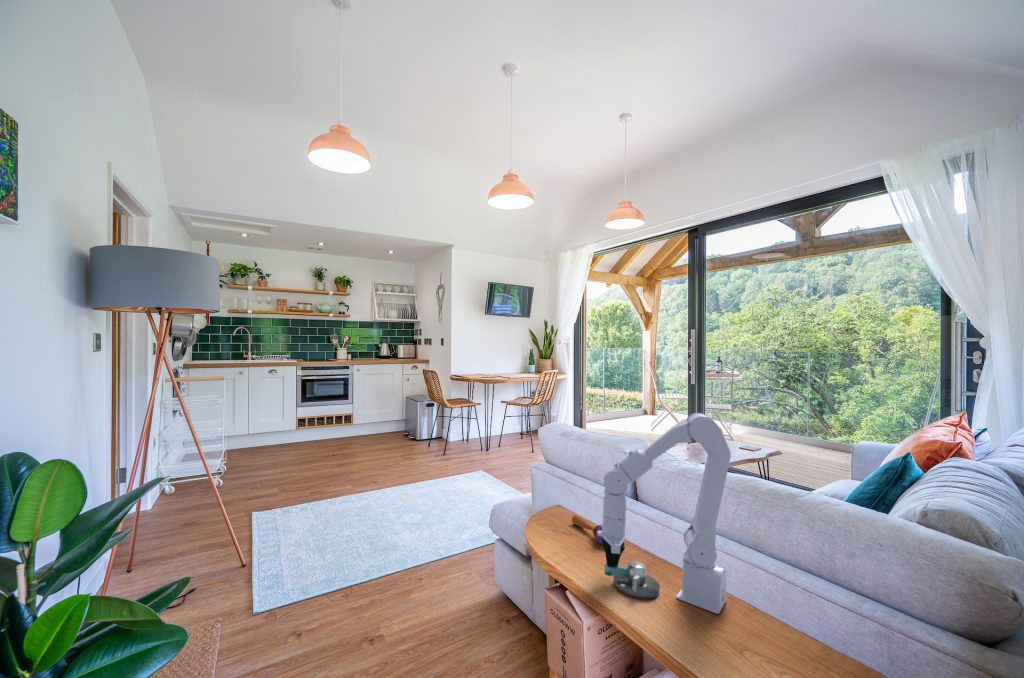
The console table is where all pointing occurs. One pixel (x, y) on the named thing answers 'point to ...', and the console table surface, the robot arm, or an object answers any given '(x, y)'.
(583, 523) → the purple maraca
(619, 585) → the post plate
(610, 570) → the teal ball-top lever
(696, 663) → the console table surface
